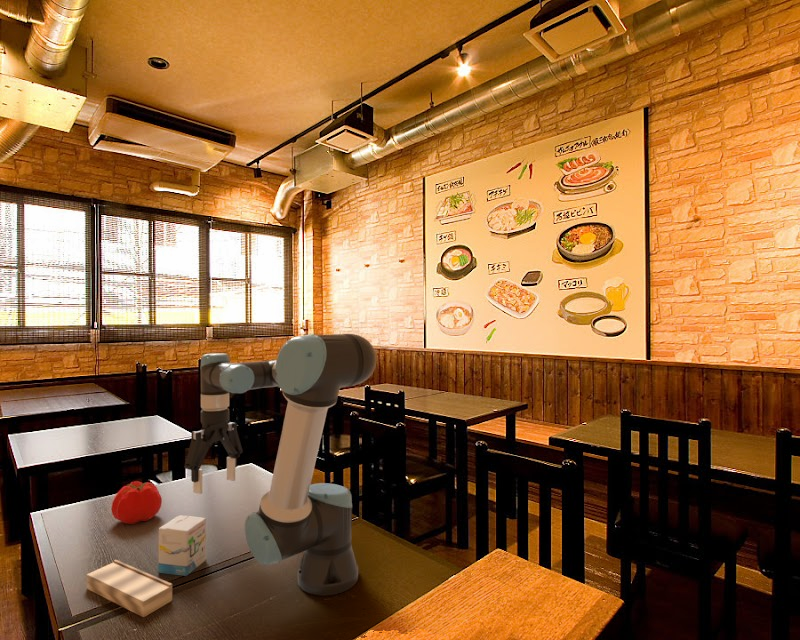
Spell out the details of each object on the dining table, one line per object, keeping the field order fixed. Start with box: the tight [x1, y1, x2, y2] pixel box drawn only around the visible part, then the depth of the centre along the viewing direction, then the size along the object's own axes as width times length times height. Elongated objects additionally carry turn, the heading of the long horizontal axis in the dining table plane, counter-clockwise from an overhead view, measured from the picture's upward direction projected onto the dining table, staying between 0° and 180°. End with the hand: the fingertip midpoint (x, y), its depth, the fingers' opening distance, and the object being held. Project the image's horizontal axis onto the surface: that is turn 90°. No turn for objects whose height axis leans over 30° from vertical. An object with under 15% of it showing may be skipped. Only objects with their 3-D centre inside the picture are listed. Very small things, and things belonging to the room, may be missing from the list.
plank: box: [86, 559, 173, 618], centre depth 112 cm, size 22×7×4 cm, turn 62°
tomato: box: [110, 480, 163, 525], centre depth 152 cm, size 13×14×12 cm
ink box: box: [157, 515, 207, 577], centre depth 124 cm, size 9×8×12 cm
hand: (215, 486), depth 133 cm, fingers open, 11 cm apart
